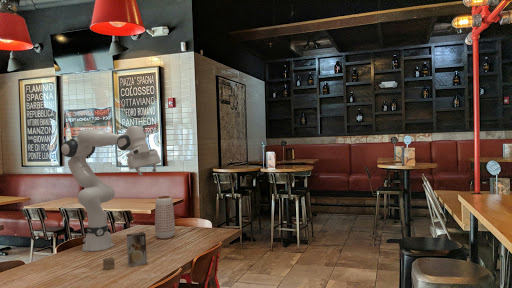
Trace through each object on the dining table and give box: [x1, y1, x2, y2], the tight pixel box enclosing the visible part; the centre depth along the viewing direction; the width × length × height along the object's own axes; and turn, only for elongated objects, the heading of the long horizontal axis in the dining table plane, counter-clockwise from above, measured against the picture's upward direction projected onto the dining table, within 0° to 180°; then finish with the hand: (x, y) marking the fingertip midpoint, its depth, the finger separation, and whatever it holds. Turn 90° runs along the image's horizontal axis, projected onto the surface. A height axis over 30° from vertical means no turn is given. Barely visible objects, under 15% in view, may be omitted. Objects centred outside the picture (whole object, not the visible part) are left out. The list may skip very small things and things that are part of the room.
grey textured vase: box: [154, 195, 176, 240], centre depth 255 cm, size 13×13×28 cm
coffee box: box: [126, 231, 148, 267], centre depth 199 cm, size 9×6×16 cm
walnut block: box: [102, 256, 115, 271], centre depth 192 cm, size 4×4×5 cm
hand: (148, 173), depth 217 cm, fingers open, 8 cm apart
